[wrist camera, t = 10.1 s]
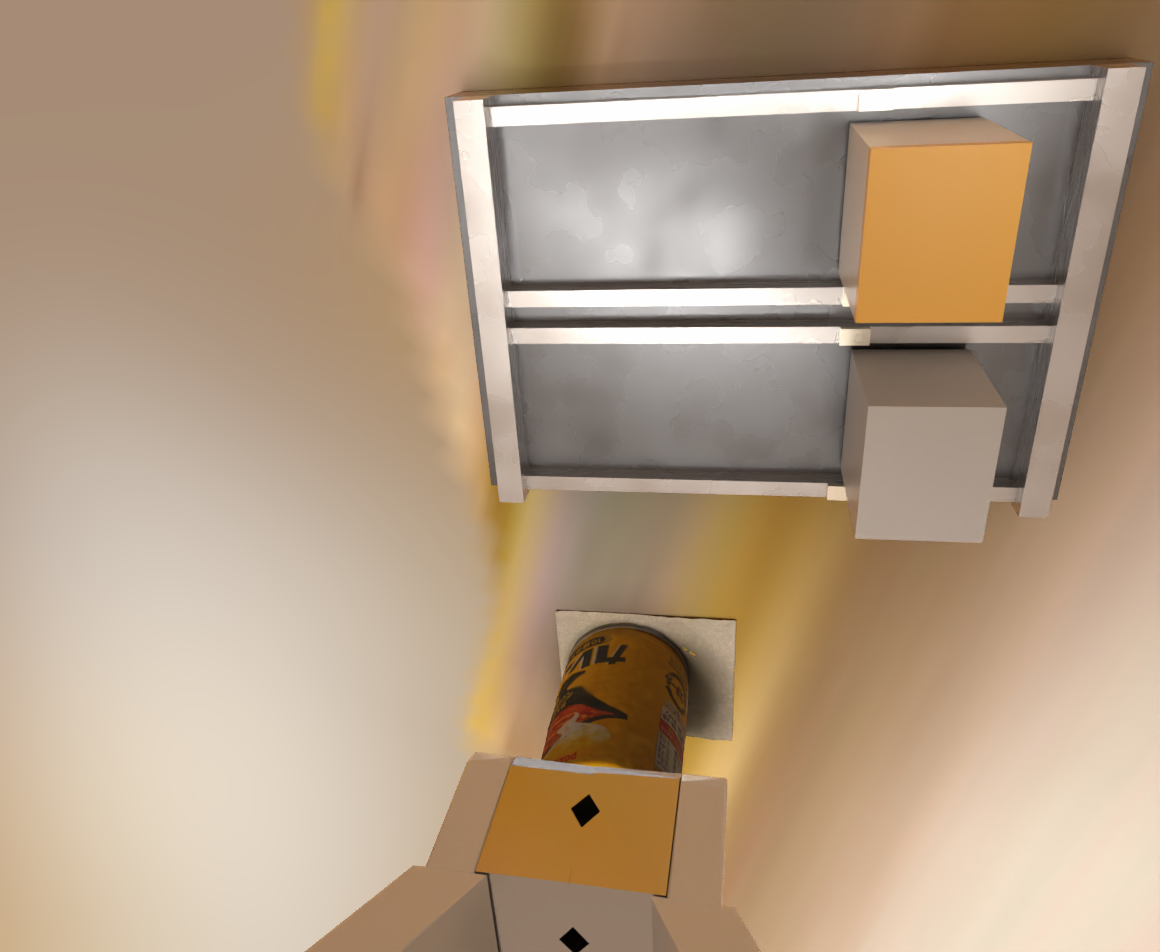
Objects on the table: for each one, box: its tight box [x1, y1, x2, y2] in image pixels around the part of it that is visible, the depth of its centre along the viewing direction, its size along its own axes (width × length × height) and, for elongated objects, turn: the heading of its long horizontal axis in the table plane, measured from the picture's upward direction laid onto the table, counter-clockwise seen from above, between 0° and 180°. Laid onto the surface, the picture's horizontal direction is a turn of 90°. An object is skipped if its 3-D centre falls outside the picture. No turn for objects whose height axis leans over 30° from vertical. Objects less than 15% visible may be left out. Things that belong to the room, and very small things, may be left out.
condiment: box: [541, 611, 736, 774], centre depth 38 cm, size 7×8×12 cm
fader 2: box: [841, 350, 1007, 543], centre depth 30 cm, size 4×5×5 cm
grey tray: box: [445, 58, 1154, 518], centre depth 32 cm, size 22×15×3 cm
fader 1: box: [838, 117, 1033, 323], centre depth 27 cm, size 4×5×5 cm
